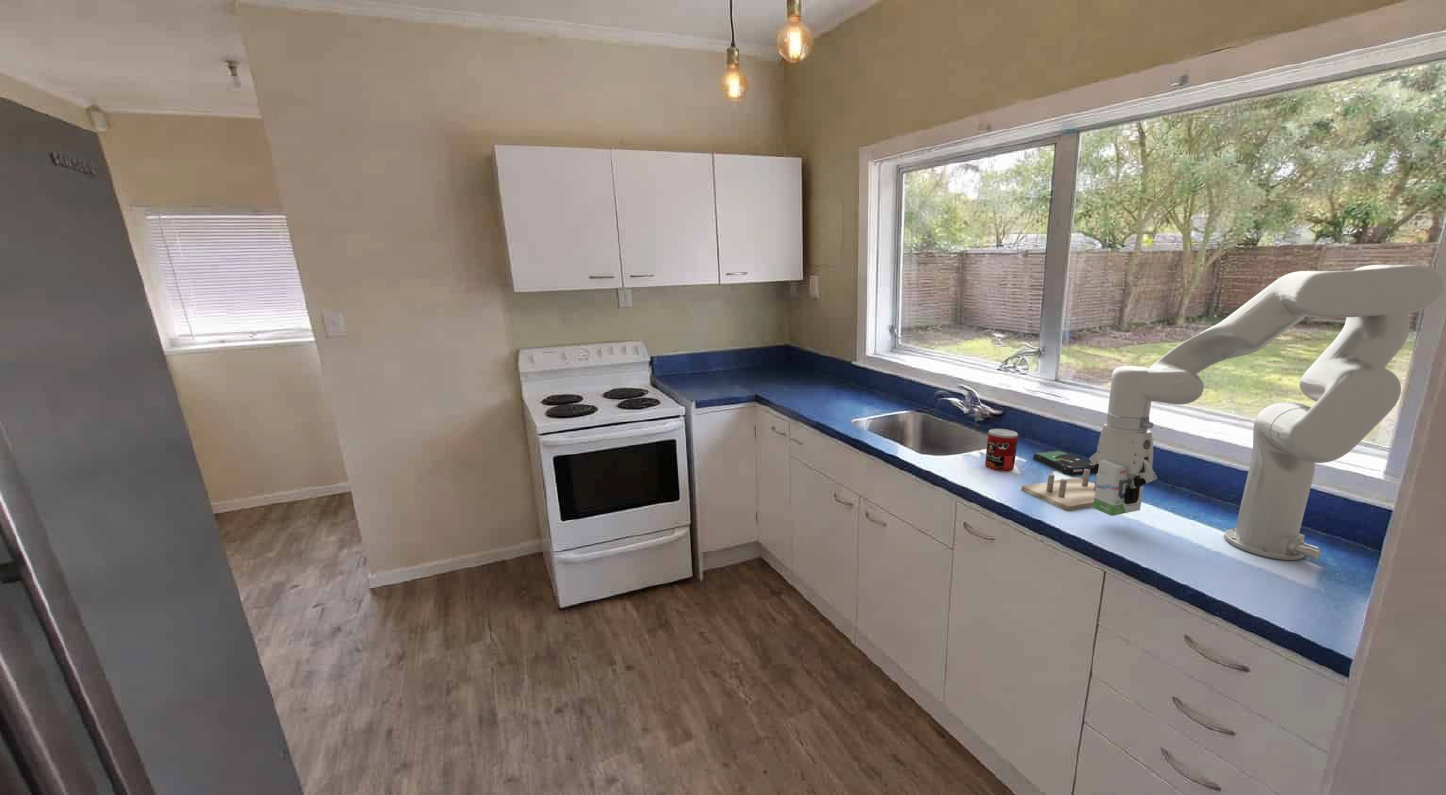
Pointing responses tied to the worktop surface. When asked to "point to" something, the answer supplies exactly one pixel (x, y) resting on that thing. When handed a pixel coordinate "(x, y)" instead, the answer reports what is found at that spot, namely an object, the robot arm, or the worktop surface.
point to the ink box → (1113, 490)
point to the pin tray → (1065, 491)
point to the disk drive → (1064, 462)
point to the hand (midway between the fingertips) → (1117, 497)
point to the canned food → (1001, 449)
